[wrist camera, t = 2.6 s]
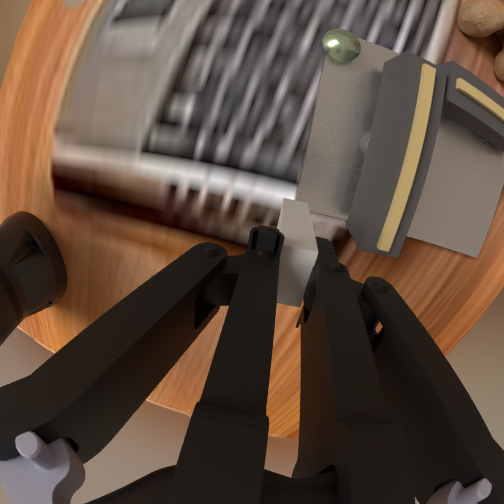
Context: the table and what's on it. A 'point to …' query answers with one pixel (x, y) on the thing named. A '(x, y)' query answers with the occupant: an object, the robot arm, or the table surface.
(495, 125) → the curved tan-striped slab
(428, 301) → the table surface
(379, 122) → the striped dark bar
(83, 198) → the table surface
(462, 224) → the level plate
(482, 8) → the figurine
